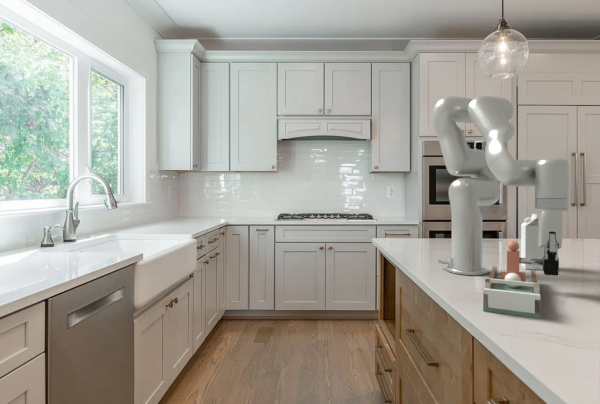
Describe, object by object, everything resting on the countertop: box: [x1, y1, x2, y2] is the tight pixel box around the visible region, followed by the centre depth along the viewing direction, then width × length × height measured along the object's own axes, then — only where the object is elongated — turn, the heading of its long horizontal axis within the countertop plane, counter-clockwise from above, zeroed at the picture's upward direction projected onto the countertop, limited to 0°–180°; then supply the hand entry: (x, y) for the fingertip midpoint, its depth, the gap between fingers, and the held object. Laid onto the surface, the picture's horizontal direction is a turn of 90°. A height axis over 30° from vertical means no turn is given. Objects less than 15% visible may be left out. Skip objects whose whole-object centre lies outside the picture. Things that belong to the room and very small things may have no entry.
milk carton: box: [520, 213, 544, 271], centre depth 136 cm, size 7×7×19 cm
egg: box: [504, 273, 521, 288], centre depth 105 cm, size 4×4×4 cm
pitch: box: [482, 266, 541, 320], centre depth 101 cm, size 11×36×4 cm, turn 150°
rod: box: [500, 240, 560, 282], centre depth 106 cm, size 14×3×12 cm, turn 60°
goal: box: [482, 277, 541, 315], centre depth 88 cm, size 11×6×5 cm, turn 60°
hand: (550, 273), depth 103 cm, fingers closed on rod, 3 cm apart
